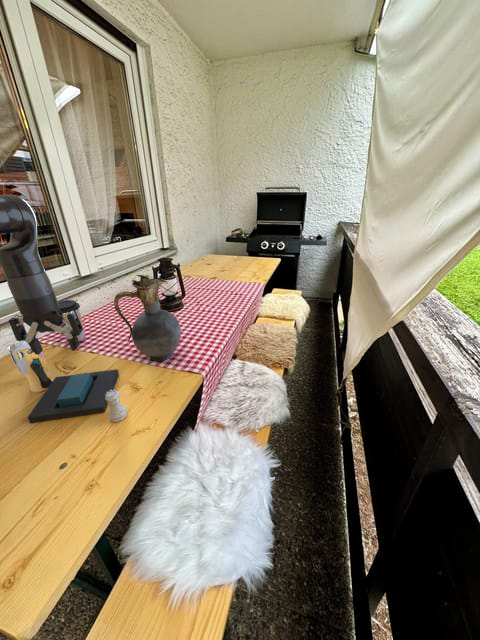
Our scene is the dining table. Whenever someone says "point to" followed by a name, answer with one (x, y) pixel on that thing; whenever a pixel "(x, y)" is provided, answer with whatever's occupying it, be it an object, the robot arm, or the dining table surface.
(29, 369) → the beer glass
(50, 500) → the dining table surface
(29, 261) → the robot arm
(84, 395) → the block
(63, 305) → the coffee cup
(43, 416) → the dark grey rectangular frame
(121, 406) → the rook chess piece
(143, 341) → the pitcher
